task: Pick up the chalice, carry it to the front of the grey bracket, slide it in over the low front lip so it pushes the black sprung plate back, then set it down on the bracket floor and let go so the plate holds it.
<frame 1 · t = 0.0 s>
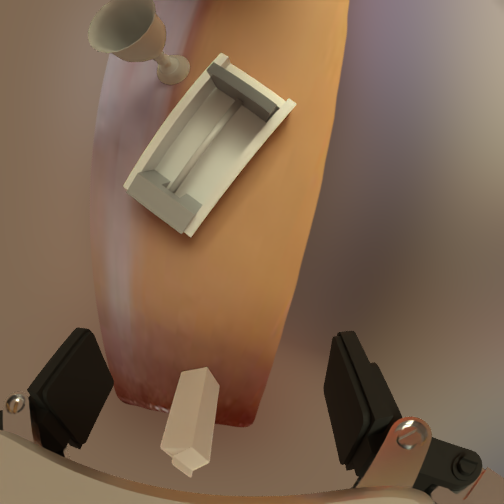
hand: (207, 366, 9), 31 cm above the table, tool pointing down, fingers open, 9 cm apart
chalice: (173, 69, 32), on the table
milk: (200, 378, 51), on the table
grey bracket: (211, 144, 36), on the table
pusher: (201, 145, 31), point 6 cm above the table, slide at 0.0 cm
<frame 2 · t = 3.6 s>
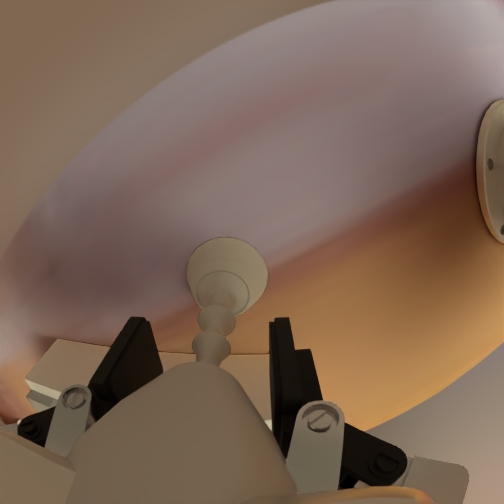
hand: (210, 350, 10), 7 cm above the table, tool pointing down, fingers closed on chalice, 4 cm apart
chalice: (226, 275, 17), on the table, touching gripper
grey bracket: (171, 398, 21), on the table
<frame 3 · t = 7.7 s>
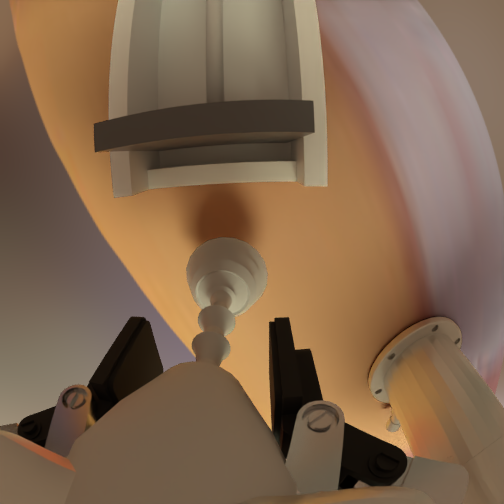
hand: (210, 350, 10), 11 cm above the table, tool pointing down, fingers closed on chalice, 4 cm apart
chalice: (226, 275, 17), point 4 cm above the table, touching gripper
grey bracket: (221, 44, 15), on the table
pusher: (210, 4, 10), point 6 cm above the table, slide at 0.0 cm
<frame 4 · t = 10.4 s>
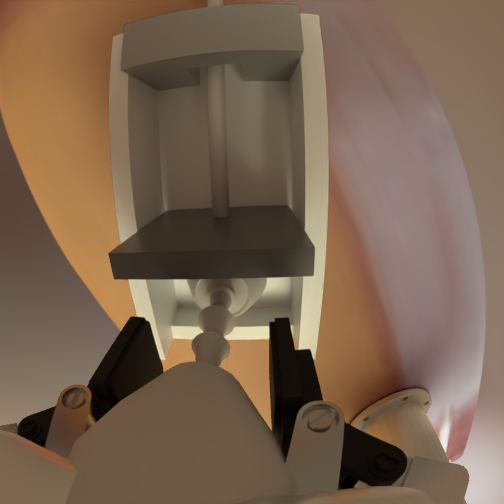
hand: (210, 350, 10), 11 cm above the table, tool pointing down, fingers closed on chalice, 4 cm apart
chalice: (226, 275, 17), point 4 cm above the table, touching gripper, pusher
grey bracket: (227, 187, 19), on the table
pusher: (211, 84, 12), point 6 cm above the table, slide at 5.7 cm, touching chalice
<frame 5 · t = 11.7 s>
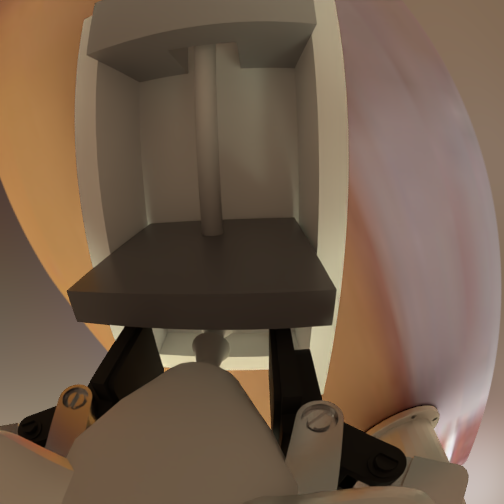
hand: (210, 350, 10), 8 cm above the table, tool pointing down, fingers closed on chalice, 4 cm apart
chalice: (226, 277, 17), point 1 cm above the table, touching gripper, pusher
grey bracket: (221, 194, 16), on the table
pusher: (198, 68, 9), point 6 cm above the table, slide at 5.7 cm, touching chalice
when the fingers open (8 cm above the table, at t = 11.8 s): chalice stays where it is, resting on grey bracket, pusher.
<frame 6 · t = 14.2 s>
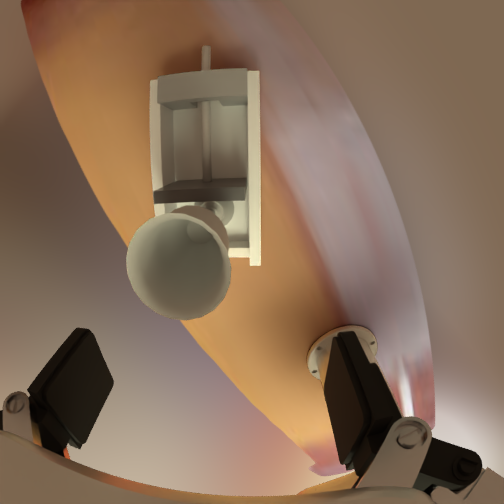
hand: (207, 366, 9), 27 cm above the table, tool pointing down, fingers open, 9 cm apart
chalice: (214, 208, 33), point 1 cm above the table, touching grey bracket, pusher
grey bracket: (212, 167, 32), on the table
pusher: (203, 113, 25), point 6 cm above the table, slide at 5.6 cm, touching chalice
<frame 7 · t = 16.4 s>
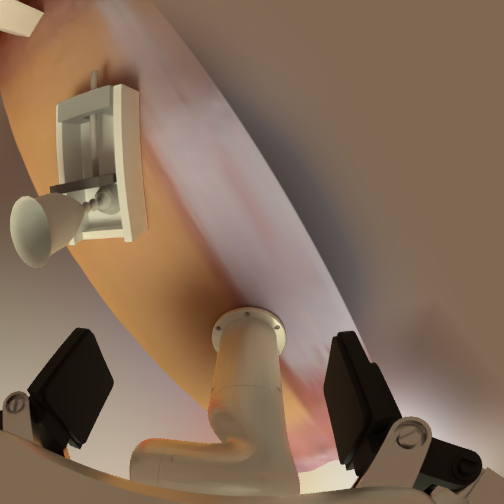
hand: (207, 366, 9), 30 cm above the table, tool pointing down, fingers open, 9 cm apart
chalice: (110, 198, 37), point 1 cm above the table, touching grey bracket, pusher
milk: (31, 24, 24), on the table
grey bracket: (108, 165, 36), on the table
pusher: (87, 125, 28), point 6 cm above the table, slide at 5.6 cm, touching chalice
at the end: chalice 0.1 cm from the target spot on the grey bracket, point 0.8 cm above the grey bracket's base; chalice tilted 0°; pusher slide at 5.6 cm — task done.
